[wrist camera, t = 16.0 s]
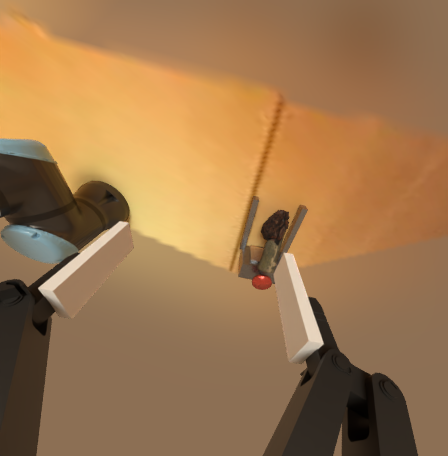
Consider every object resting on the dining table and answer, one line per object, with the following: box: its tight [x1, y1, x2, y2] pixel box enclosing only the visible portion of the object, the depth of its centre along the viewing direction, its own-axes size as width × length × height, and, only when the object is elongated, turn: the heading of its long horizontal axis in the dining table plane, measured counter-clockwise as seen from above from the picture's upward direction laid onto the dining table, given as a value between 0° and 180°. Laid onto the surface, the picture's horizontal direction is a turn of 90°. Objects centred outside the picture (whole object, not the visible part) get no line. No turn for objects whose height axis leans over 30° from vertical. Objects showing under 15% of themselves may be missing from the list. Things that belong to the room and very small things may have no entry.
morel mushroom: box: [258, 210, 289, 273], centre depth 47 cm, size 18×7×6 cm
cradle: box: [238, 196, 308, 290], centre depth 49 cm, size 15×24×12 cm, turn 171°
